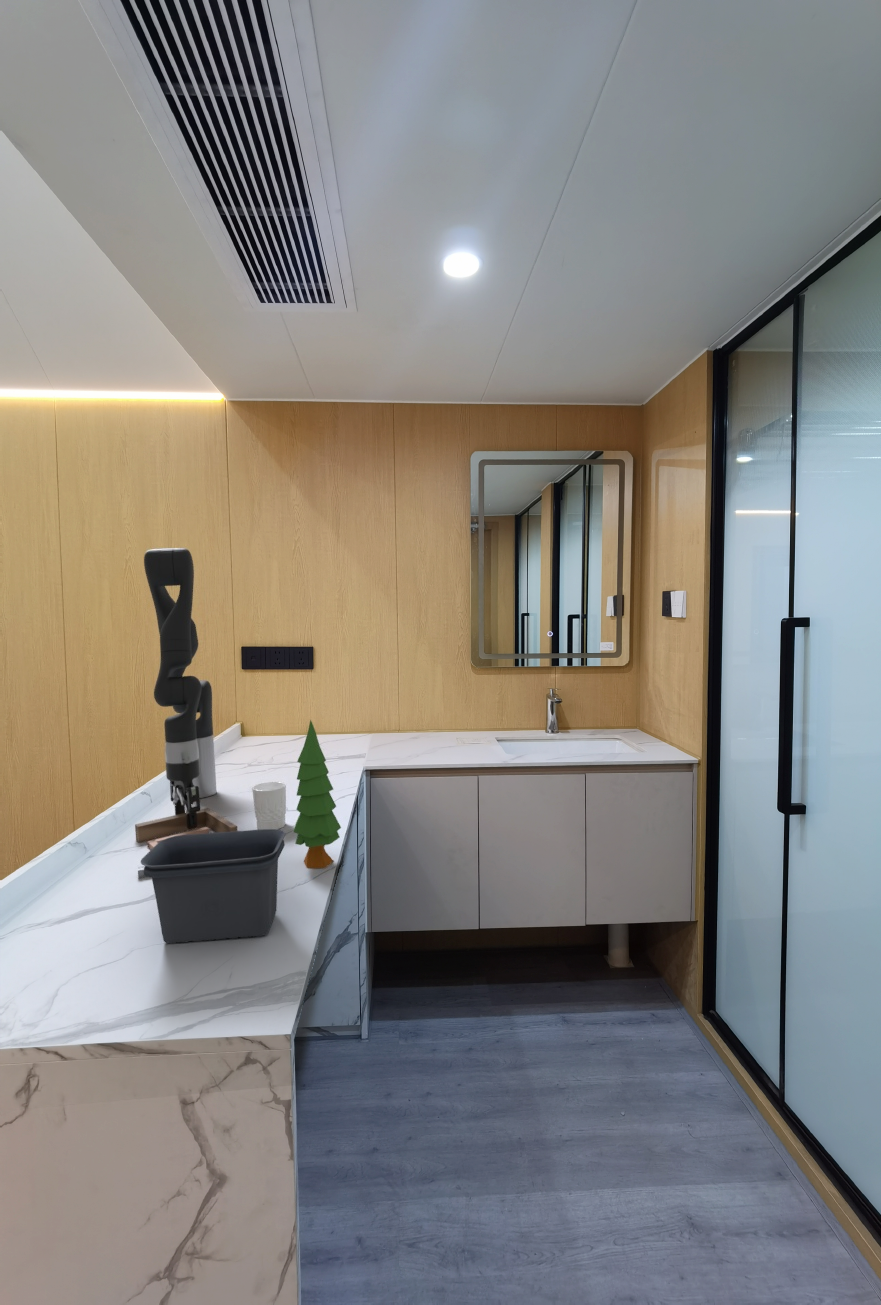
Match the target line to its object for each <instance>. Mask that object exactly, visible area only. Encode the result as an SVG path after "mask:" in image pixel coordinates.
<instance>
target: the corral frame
mask: <svg viewBox="0 0 881 1305" xmlns="http://www.w3.org/2000/svg"><path fill="white" fill-rule="evenodd" d="M205 833H210V829H209V828H208V827H206V826H205V827H201V828H197V829H193V830H189V831H185V832H181V833H177V834H173V835H169V836H164V837H160V838H156V839H152V840H148V841H146V843H147V848H149V850H152V849H153V848H154V847H155V846H156V845H157V844H158V843H159V842H160V841H162V840H164V839H167V838H170V837H174V836H179V835H189V834H205Z"/></svg>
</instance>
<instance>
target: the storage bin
mask: <svg viewBox="0 0 881 1305" xmlns="http://www.w3.org/2000/svg"><path fill="white" fill-rule="evenodd" d="M285 835H286V831H285V830H282V829H263V830H259V829H249V830H237V831H233V832H218V833H215V832H209V833H205V834H189V835H179V836H174V837H170V838H167V839H164V840H162V841H160V842H159V843H158V844H157V845H156V846H155V847H154V848H153V849H152V850H151V849H149V851H148V852H147V853H146V854H145V855H144V856H143V857H142V858H141V860H140V864H141V865H142V866H145V867H144V872H143V874H144V875H145V876H147V877H146V878H151V881H152V885H153V892H154V895H155V900H156V906H157V913H158V918H159V923H160V929H161V934H162V939H163V942H164V943H167V944H177V943H176V942H181V943H189V942H188V941H193V942H201V941H202V940H204V941H214V939H216V940H226V939H225V938H229V939H238V937H241V938H249V937H248V936H253V937H260V936H261V937H262V936H265V935H267V934H268V933H269V931H270V930H271V926H272V923H273V921H274V918H275V916H276V914H277V908H278V907H277V904H278V874H279V872H278V871H279V870H278V868H279V866H278V865H279V863H278V862H279V858H280V856H281V854H282V852H283V850H284V848H285V845H286V844H285V840H284V838H285ZM186 941H187V942H186Z"/></svg>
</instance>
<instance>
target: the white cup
mask: <svg viewBox="0 0 881 1305" xmlns="http://www.w3.org/2000/svg"><path fill="white" fill-rule="evenodd" d="M286 788H287V784H286V783H284V782H282V781H268V782H261V783H258V784H255V785H253V786H252V797H253V807H254V808H253V809H254V815H255V820H256V828H257V830H263V829H277V830H281V828H283V827H285V826H286V814H287V789H286Z"/></svg>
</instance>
